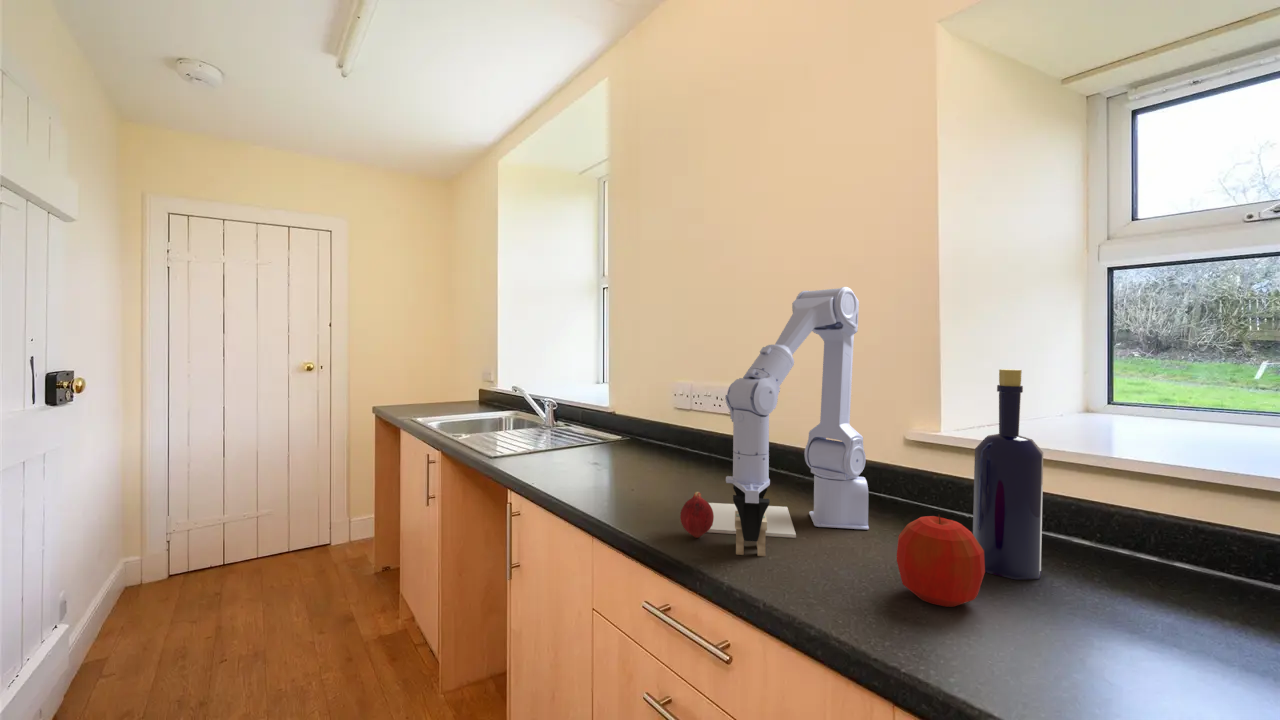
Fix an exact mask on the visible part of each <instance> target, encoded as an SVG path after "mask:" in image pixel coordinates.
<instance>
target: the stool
mask: <svg viewBox="0 0 1280 720" xmlns="http://www.w3.org/2000/svg"><path fill="white" fill-rule="evenodd" d="M735 529H736V534H735V555H740V556H744V553H745V552H744V550H745V549H744V548H745V547H744V544H745V541H744V538H743V533H742V527H741V521H740V516H739V513H738V511H735ZM766 531H767V519H766V514H765V513H764V516H763V519H762V523H761V528H760V534H759V538H758V541H757V542H756V549H757V553H756V554H757V557H766V537H767V536H766Z"/></svg>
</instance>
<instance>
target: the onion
mask: <svg viewBox="0 0 1280 720" xmlns="http://www.w3.org/2000/svg"><path fill="white" fill-rule="evenodd" d="M709 503H710V502H708V501H707V500H706V499H704V498H703V497H702V493H700V491H695V492H694V494H693V496H692V497H691V498H690V499H688V500H687V501H686V502H685V503H684V504H683V506H682V508H681V511H680V516H679V517H680V519H679V520H680V522H681V526H682V528H683V529H684V530H685V531H686V533H688V535H691V536H692V537H694V538H695V539H699V538H701V537H702V536H703V535H705V534H706V533H708V532H707V531H708V530H709V529H710V528H711V526H712V525H713V520H714V515H713V510H712V508H711V506H710V505H709Z"/></svg>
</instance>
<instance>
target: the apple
mask: <svg viewBox="0 0 1280 720" xmlns="http://www.w3.org/2000/svg"><path fill="white" fill-rule="evenodd" d="M897 539H898V540H897V547H896V548H897V549H896V563H897V567H898V571H899V575H900V580H901V583H902V585H903V586H904V587H905V588H907V589H908V590H909V591H910V592H911V593H912V594H914V595H915V596H917V597H918V598H919V599H920V600H922V601H923V602H926V603H928V604H932V605H936V606H940V607H941V606H942V607H946V608H947V607H948V608H949V607H951V608H954V607H956V606H960V605H963V604H966V603H968V602H971V601H974V600H975V599H976V598H977V596H978V594H979V592H980V589H981V585H982V582H983V579H984V577H985V573H986V572H985V562H984V550H983V549H982V547H981V546H980V544H979V543H978V541H977V540H976V538H975V537H974V535H973V531H970V530H969V528H967V527H966V526H964V525H963V524H962V523H960V522H958V521H956V520H953V519H947V518H944V517H941V516H940V514H938V516H935V515H927V516H920V517H919V518H917V519H914V520H913V521H910V522H908V523H907V524H906V526H904V528H903V529H902V530H901V532H900V533H899V535H898V538H897Z"/></svg>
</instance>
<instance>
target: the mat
mask: <svg viewBox="0 0 1280 720" xmlns="http://www.w3.org/2000/svg"><path fill="white" fill-rule="evenodd" d="M708 503H709V505H710V506H711V508H712V510H713V515H714V520H713V525H712V526H711V528H710V529H709V530H708V531H707V532H706V533H712V534H713V533H714V534H715V533H716V534H725V535H726V534H727V535H728V534H729V535H736V529H735V511H738V510H737V508H736V506H735V504H734V503H720V502H708ZM765 514H766V519H767V531H766V537H776V538H790V539H791V538H793V539H795V538H797V534H796V531H795V527H794V524H793V521H792V518H791V515H790V512H789V508H788V506H779V505H769V506H768V508H767V509H766V511H765Z"/></svg>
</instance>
